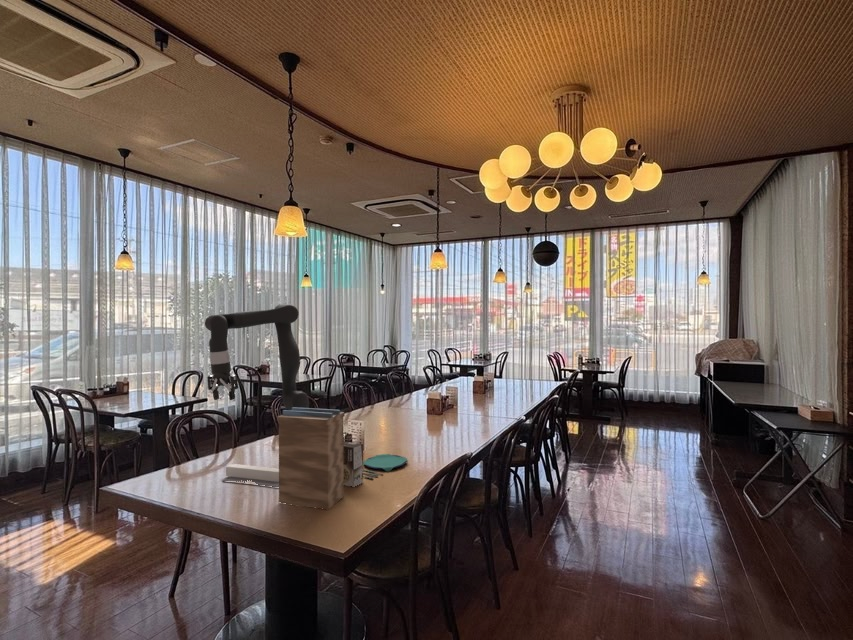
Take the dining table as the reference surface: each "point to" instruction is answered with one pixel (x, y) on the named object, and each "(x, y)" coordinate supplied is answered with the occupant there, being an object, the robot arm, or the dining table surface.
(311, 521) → the dining table surface
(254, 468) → the bar
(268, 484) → the mat
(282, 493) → the brown wooden box
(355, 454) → the grey food carton
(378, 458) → the cutlery set
